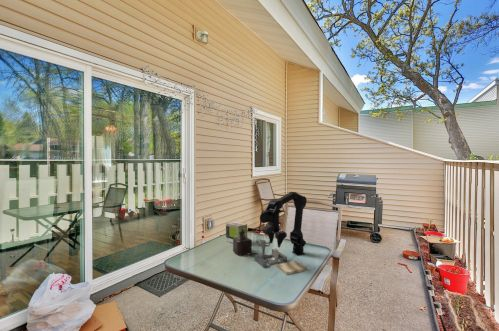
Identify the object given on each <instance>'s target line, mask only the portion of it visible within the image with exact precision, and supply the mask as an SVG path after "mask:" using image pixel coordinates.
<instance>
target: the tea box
mask: <svg viewBox="0 0 499 331" xmlns="http://www.w3.org/2000/svg"><path fill="white" fill-rule="evenodd" d="M241 229H243V231H245V234H246V237H248V223H243V222H238V221H230V222H227V223H225V240H226V241H225V242H227V241H228V242H227V243H230V242H231V243H230V244H233V238H237V237H239V236H240V234H239V231H240V230H241ZM243 236H244V235H243Z"/></svg>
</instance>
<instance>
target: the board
mask: <svg viewBox="0 0 499 331" xmlns="http://www.w3.org/2000/svg"><path fill="white" fill-rule="evenodd" d="M275 267H276V268H277V269H278V270H280V271H281V272H282V273H283V274H286V275H291V274H295V273H300V272H304V271H308V267H306V266H305V265H303V264H302V263H300V262H299V261H297V260H293V261H287V262H286V263H283V262H281V263H279V264H278V263H276V264H275Z"/></svg>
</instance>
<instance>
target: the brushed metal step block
mask: <svg viewBox="0 0 499 331" xmlns="http://www.w3.org/2000/svg"><path fill="white" fill-rule="evenodd" d="M278 252H279V249H278V248H271V254H272V258H269V259H266V261H267V265H274V264H278V263H279V259H278ZM279 264H280V263H279Z"/></svg>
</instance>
